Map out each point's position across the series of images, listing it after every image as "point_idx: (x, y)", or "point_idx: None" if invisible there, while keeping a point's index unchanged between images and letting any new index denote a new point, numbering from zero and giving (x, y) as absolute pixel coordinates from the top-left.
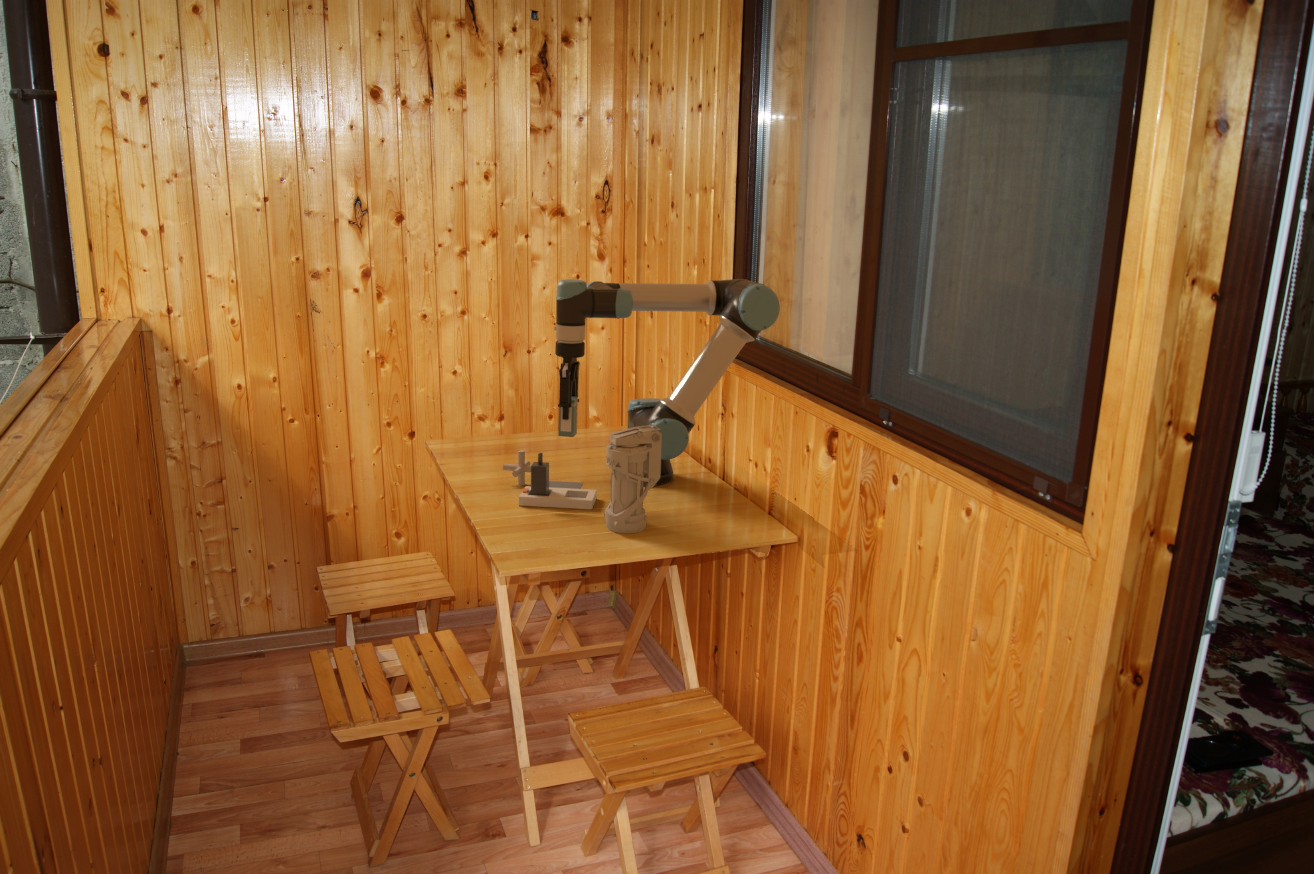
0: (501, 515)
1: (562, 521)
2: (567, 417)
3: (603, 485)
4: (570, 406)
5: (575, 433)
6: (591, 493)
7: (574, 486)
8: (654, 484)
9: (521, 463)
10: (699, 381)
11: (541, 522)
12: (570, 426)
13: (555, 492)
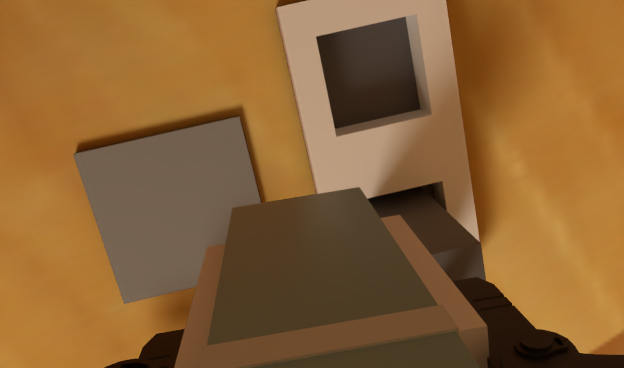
0: (565, 286)
1: (573, 51)
2: (497, 290)
3: (42, 57)
4: (534, 336)
5: (280, 203)
6: (340, 12)
7: (146, 169)
8: None
9: None
10: None
11: (603, 124)
12: (413, 234)
13: (385, 174)
